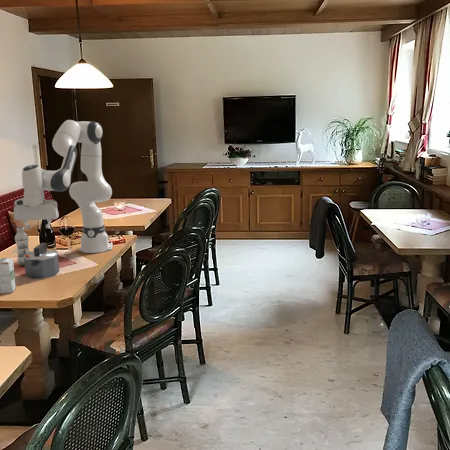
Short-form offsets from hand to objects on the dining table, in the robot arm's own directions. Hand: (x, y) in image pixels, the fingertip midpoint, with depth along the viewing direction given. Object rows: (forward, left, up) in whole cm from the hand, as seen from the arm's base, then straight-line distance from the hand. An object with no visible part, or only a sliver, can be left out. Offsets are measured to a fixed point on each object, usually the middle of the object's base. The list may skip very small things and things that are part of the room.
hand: (38, 228), depth 242 cm
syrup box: (+24, -7, -23) cm, 34 cm away
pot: (0, 0, -23) cm, 23 cm away
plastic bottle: (-16, -15, -23) cm, 32 cm away
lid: (0, 0, -15) cm, 15 cm away
